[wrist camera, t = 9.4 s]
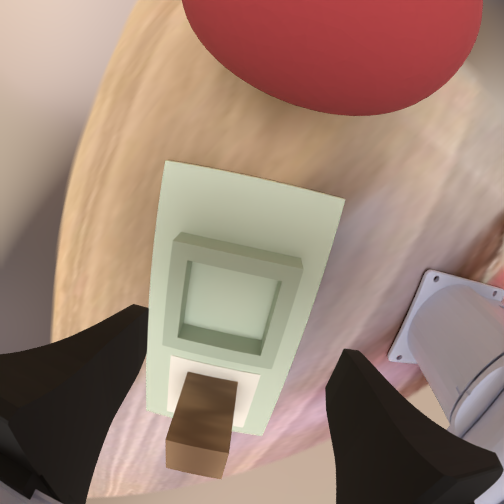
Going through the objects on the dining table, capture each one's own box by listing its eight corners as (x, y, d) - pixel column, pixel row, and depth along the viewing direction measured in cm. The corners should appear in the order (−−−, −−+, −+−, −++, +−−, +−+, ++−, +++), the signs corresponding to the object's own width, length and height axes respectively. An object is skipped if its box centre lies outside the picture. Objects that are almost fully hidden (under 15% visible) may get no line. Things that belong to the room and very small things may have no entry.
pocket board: (342, 198, 18) (352, 205, 16) (262, 431, 26) (261, 450, 24) (168, 159, 18) (155, 162, 16) (148, 406, 26) (140, 424, 23)
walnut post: (238, 381, 23) (228, 453, 16) (230, 412, 24) (221, 479, 18) (187, 371, 23) (165, 439, 16) (184, 403, 24) (166, 467, 17)
